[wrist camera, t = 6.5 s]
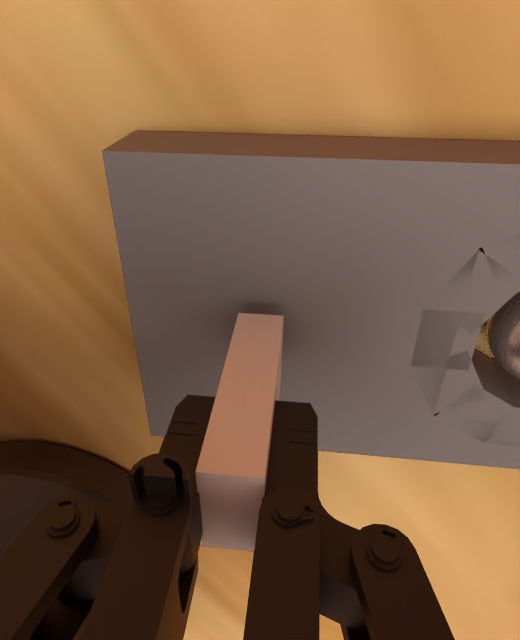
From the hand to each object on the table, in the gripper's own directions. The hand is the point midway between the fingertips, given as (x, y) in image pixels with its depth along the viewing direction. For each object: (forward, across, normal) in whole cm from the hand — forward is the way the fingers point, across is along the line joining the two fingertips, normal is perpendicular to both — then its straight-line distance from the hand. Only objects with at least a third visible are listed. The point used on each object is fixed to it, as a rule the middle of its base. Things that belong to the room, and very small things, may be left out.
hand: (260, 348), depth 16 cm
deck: (+4, -5, 0) cm, 6 cm away
